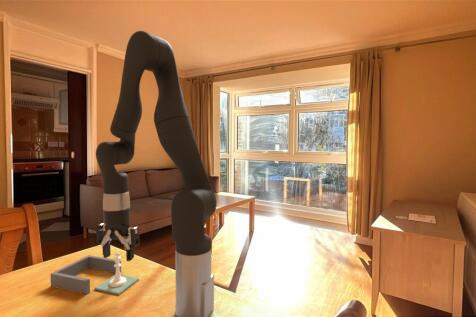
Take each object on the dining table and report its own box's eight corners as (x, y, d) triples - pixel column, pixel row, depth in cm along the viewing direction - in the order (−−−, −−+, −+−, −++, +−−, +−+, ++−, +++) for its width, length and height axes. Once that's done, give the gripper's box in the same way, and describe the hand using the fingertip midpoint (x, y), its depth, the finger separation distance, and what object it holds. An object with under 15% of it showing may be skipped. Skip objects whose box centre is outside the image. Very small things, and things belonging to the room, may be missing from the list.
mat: (139, 280, 88) (139, 278, 88) (119, 295, 80) (119, 293, 80) (116, 275, 91) (116, 273, 91) (94, 289, 82) (94, 287, 82)
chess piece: (119, 288, 82) (119, 255, 82) (105, 286, 83) (105, 254, 83) (129, 280, 87) (129, 249, 87) (116, 278, 88) (115, 247, 88)
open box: (121, 271, 94) (121, 260, 93) (86, 294, 80) (86, 281, 80) (89, 265, 98) (88, 255, 97) (50, 286, 84) (50, 273, 84)
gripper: (144, 205, 85) (145, 256, 86) (107, 202, 90) (108, 251, 91) (127, 211, 78) (129, 266, 79) (88, 208, 82) (90, 260, 83)
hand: (118, 258), depth 85 cm, fingers open, 8 cm apart
